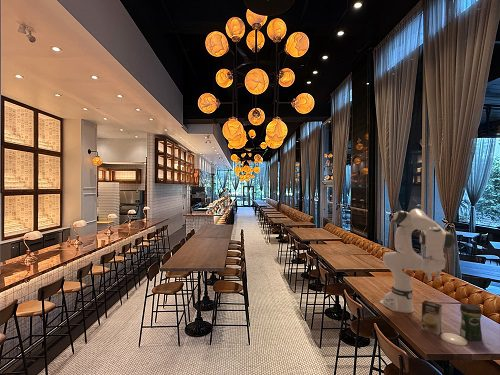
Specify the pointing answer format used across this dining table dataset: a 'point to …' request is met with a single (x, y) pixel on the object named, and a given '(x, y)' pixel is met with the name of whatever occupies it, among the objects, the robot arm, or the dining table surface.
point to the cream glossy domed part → (454, 339)
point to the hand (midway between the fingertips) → (433, 278)
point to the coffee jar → (470, 322)
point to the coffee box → (431, 317)
